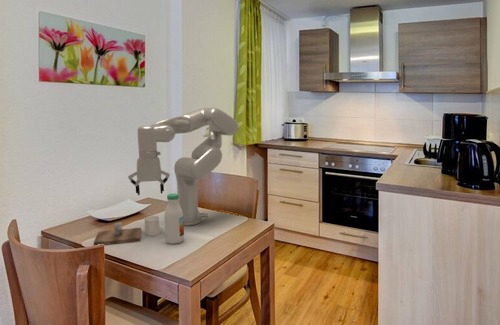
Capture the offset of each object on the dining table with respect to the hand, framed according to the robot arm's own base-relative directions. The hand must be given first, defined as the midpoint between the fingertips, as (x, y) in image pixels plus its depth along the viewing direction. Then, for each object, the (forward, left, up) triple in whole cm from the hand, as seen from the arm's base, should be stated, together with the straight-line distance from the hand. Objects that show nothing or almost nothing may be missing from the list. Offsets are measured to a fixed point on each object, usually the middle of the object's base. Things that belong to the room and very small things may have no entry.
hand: (150, 193), depth 153 cm
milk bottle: (-9, +12, -18) cm, 24 cm away
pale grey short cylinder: (0, 0, -18) cm, 18 cm away
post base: (+14, +2, -18) cm, 23 cm away
